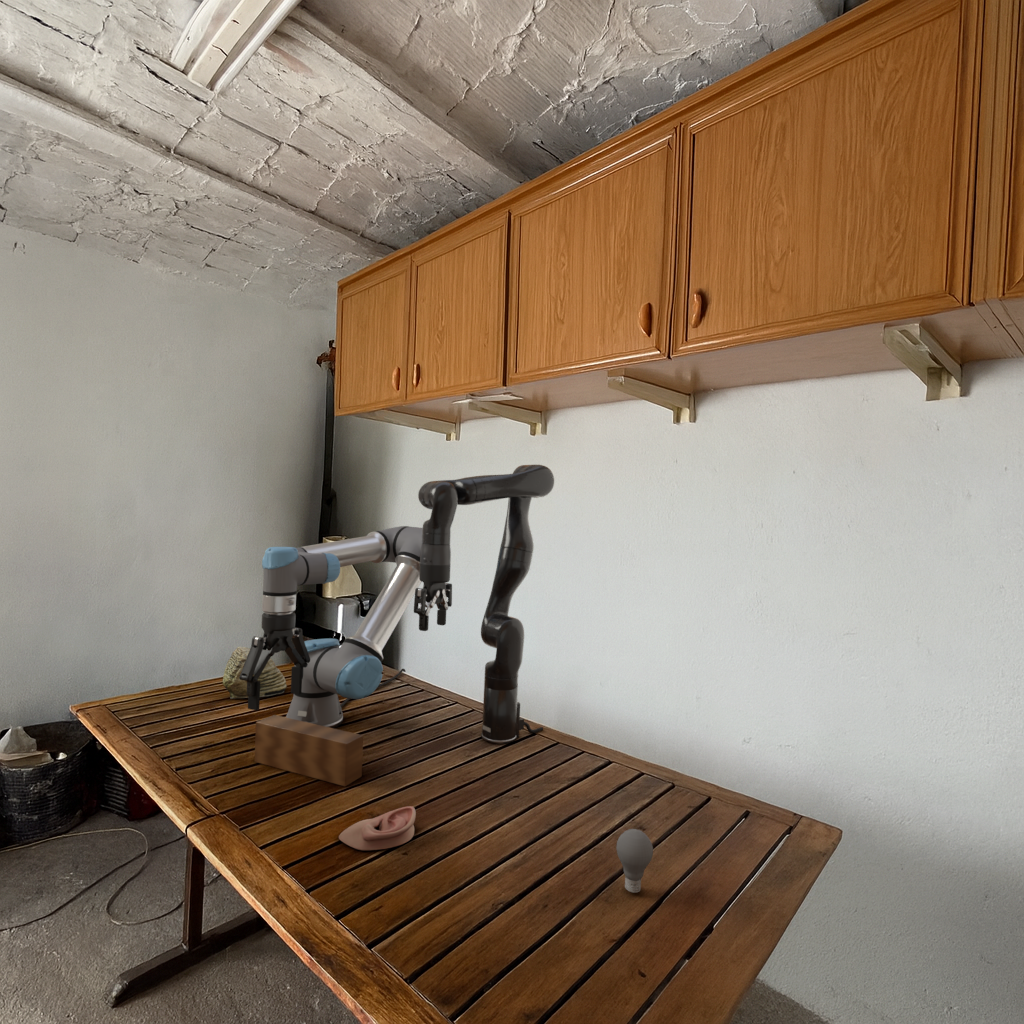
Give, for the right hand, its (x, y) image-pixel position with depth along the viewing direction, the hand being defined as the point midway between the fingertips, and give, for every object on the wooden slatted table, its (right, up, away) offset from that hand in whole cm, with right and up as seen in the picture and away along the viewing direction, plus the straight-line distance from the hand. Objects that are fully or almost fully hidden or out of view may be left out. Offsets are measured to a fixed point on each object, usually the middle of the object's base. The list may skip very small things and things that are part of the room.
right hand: (432, 627), depth 156 cm
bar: (-28, -31, -9) cm, 43 cm away
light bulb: (+40, -35, -51) cm, 73 cm away
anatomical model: (-6, -33, -37) cm, 50 cm away
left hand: (-37, -17, -6) cm, 41 cm away
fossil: (-61, -29, +42) cm, 79 cm away
